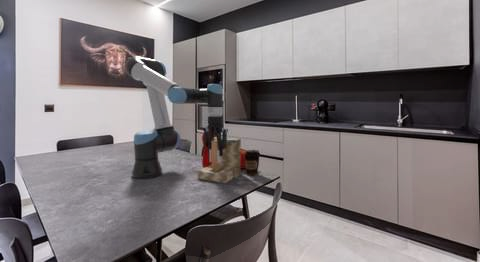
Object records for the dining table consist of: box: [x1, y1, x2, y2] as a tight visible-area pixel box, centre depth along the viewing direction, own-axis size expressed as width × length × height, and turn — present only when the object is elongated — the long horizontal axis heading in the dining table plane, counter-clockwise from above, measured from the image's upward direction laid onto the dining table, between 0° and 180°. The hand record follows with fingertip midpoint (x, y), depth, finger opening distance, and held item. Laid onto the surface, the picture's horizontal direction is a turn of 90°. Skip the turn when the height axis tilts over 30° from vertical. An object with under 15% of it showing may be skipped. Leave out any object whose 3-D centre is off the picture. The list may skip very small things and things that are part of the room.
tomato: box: [241, 149, 247, 169], centre depth 140 cm, size 14×13×10 cm
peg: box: [211, 140, 220, 169], centre depth 119 cm, size 4×4×14 cm
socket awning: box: [197, 137, 242, 184], centre depth 123 cm, size 16×17×19 cm
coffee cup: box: [245, 149, 261, 176], centre depth 126 cm, size 9×8×13 cm
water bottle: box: [201, 125, 216, 168], centre depth 142 cm, size 9×11×25 cm
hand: (215, 161), depth 119 cm, fingers closed on peg, 4 cm apart
